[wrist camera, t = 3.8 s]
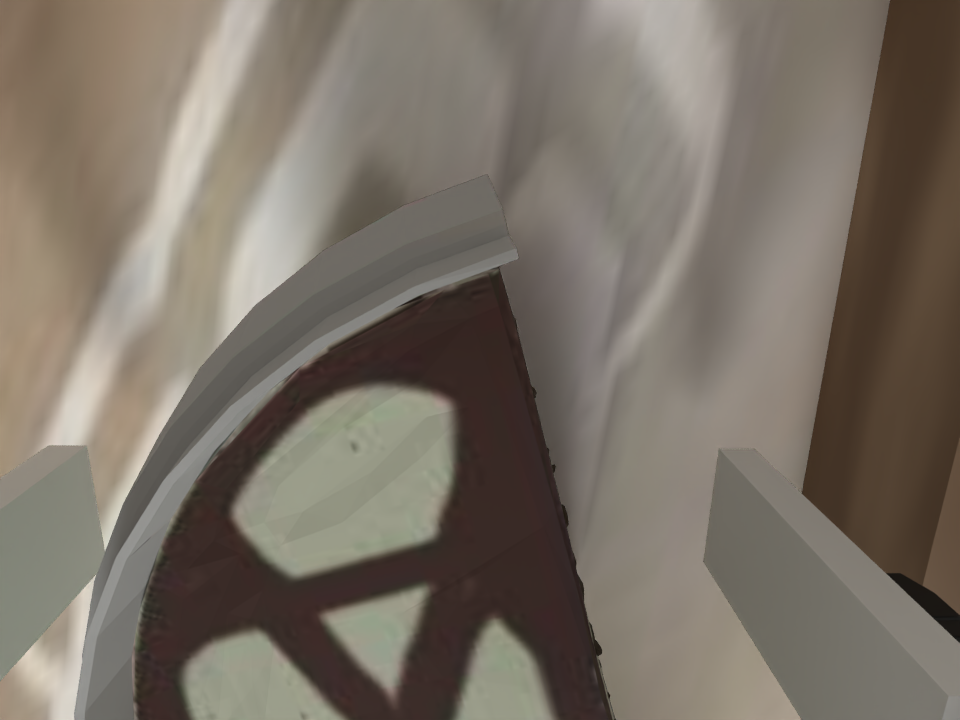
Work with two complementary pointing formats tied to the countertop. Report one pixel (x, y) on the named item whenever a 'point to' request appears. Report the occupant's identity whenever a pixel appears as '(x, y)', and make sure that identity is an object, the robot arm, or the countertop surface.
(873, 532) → the base slab
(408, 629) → the food container
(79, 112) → the countertop surface
